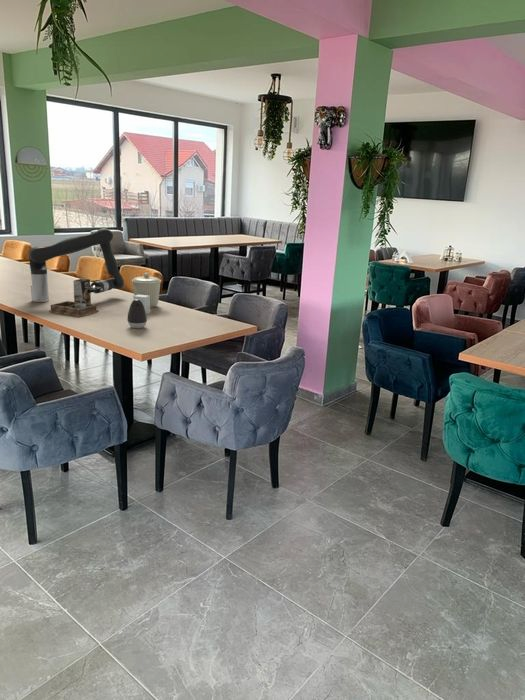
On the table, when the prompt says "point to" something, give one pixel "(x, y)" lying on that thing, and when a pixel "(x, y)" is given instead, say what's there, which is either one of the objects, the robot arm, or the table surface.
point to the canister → (147, 288)
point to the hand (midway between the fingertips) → (82, 290)
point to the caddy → (73, 308)
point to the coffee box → (82, 291)
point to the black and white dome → (137, 315)
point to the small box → (144, 301)
